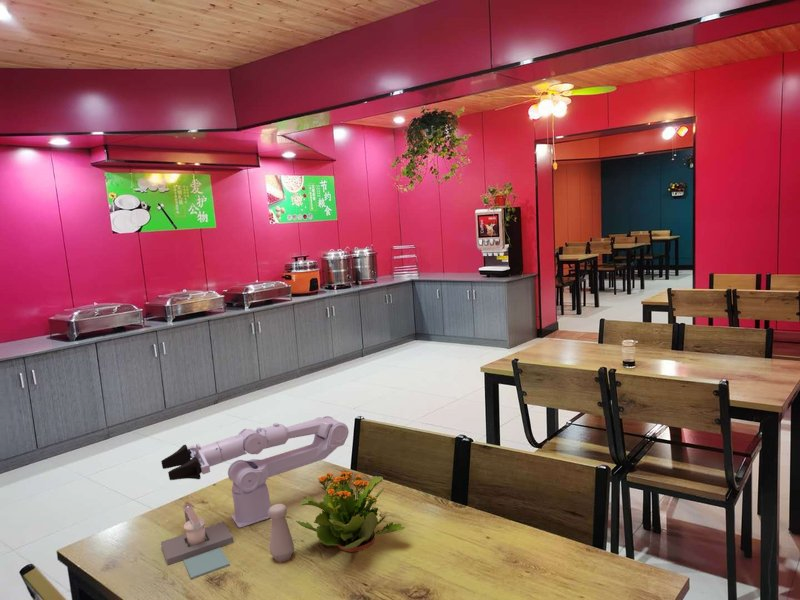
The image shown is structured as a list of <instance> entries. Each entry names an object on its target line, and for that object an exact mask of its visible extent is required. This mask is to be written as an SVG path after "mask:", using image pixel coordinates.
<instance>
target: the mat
mask: <svg viewBox="0 0 800 600" xmlns="http://www.w3.org/2000/svg"><path fill="white" fill-rule="evenodd" d="M183 563H184V565H185V568H186V571H187V573H188V575H189V578H190V580H193V579H196V578H199V577H201V576H204V575H208V574H210V573H212V572H214V571H218V570H221V569H224V568H226V567H228V566H231V563H230V562H229V560H228V558H227V556H226V554H225V553H224V551H223V549H222V547H219V548H216V549H213V550H210V551H207V552H204V553H202V554H199V555H196V556H193V557H190V558H187V559H184V560H183Z"/></svg>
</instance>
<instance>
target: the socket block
mask: <svg viewBox="0 0 800 600" xmlns="http://www.w3.org/2000/svg"><path fill="white" fill-rule="evenodd" d="M204 528H205V536H206V542H203V543H200V544H197V545H194V546H191V547H188V540H187V533H184V534H181V535H178V536H175V537H172V538H168V539H165V540H163V541H160V546H161V549H162V552H163V556H164V558H165V561H166V564H167V565H168V566H169V565H173V564H175V563H177V562H182V561H184V560H186V559H189V558H191V557H194V556H197V555H200V554H203V553H206V552H209V551H212V550H214V549H217V548H220V547H221V548H222V547H224V546H227V545H229V544H233V543H234V536H233V534H232V533H231V532H230V530H229V528H228V527H227V525H226V523H225V522H224V521H222V522H218V523H215V524H212V525H209V526H204Z"/></svg>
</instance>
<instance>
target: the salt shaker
mask: <svg viewBox="0 0 800 600" xmlns="http://www.w3.org/2000/svg"><path fill="white" fill-rule="evenodd" d="M287 511H288V509H287V506H286V505H285V504H284V503H274V504H273V505H271V507H270V508H269V517H270V518H269V519H270V521H271V524H270V539H269V553H270V555H271V556H272V558H274V560H275V562H276V561H277V563H279V562H281V563H283V562H285V561H286V562H287V561H289V560H291V557H292V554H293V552H294V549H295V545H294V544H295V543H294V541H293V537H292V534H291V531H290V528H289V524H288V521H287V518H286V517H287V516H286V515H287V514H288V513H287Z"/></svg>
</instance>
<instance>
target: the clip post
mask: <svg viewBox="0 0 800 600" xmlns="http://www.w3.org/2000/svg"><path fill="white" fill-rule="evenodd" d="M183 512H184V511H183ZM184 519H185V523H186V522H187V521H189V520H190V519H189V517H188V515H187V513H186V512H184Z"/></svg>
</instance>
